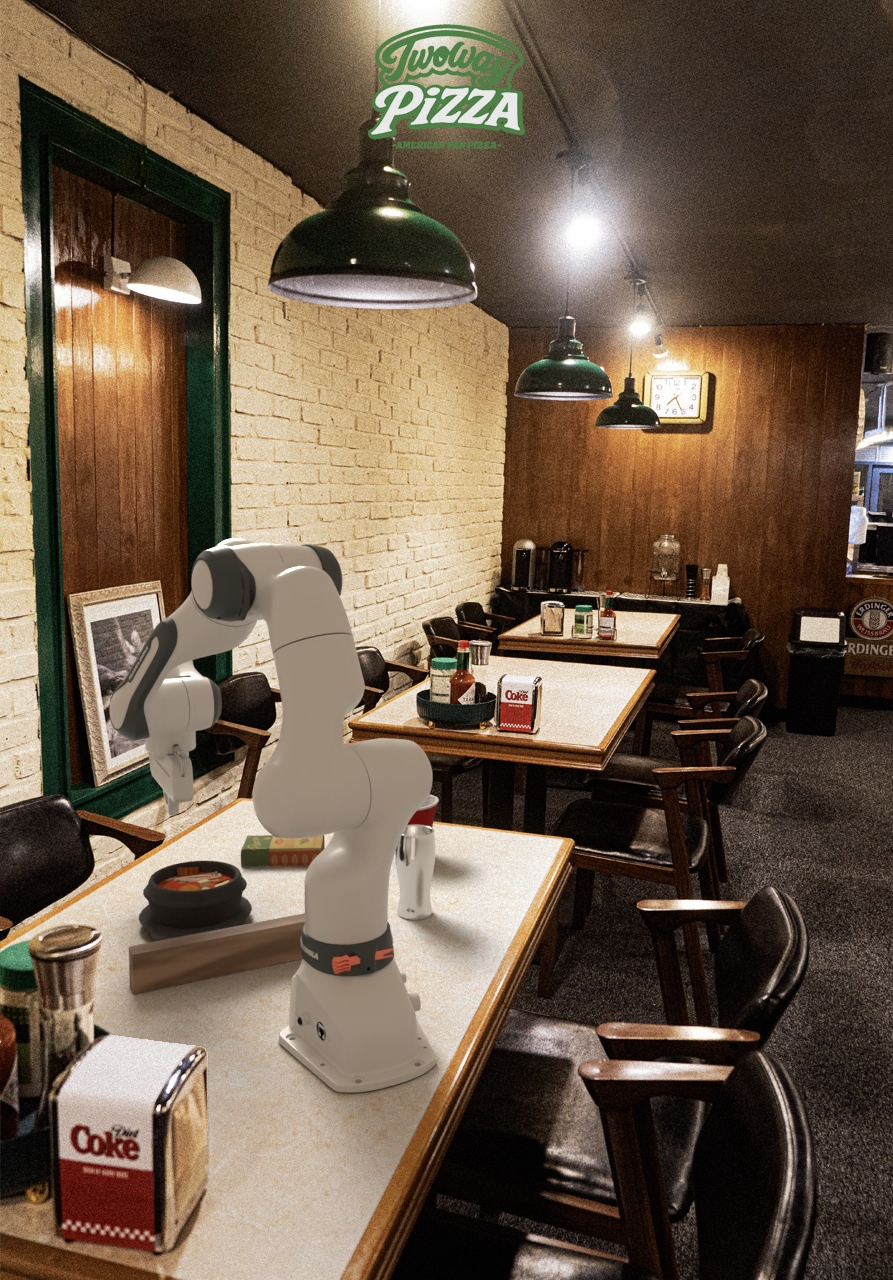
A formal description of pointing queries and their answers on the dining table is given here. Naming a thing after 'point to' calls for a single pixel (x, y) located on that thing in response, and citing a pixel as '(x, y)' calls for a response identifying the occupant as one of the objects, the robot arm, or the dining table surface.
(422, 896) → the beer glass
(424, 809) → the plastic cup
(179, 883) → the casserole
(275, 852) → the carton
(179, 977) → the walnut board
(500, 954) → the dining table surface
